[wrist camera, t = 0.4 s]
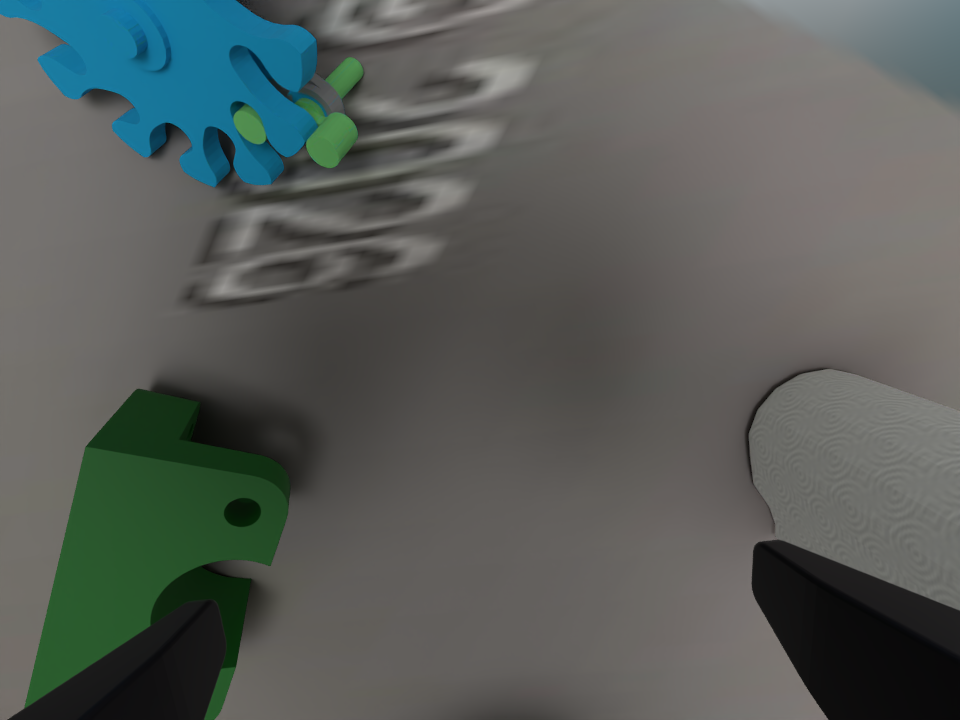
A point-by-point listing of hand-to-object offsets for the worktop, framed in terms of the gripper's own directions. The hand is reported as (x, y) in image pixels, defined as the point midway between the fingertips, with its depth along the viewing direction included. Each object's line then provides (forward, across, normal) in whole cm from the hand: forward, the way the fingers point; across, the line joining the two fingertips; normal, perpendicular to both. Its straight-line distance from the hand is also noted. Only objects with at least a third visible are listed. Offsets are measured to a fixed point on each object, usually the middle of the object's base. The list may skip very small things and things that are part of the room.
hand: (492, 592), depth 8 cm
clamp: (+13, +12, +5) cm, 18 cm away
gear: (+13, +8, -12) cm, 19 cm away
